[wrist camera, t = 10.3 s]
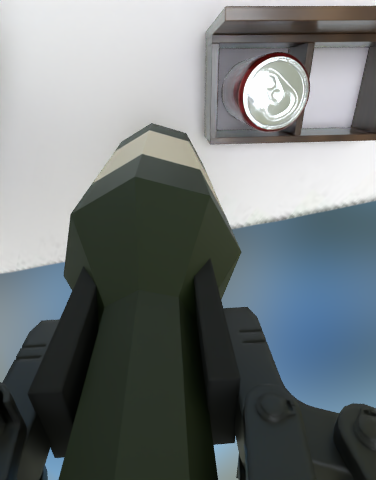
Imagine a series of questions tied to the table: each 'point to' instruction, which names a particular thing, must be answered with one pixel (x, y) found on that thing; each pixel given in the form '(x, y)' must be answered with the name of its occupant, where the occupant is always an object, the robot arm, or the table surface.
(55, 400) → the robot arm
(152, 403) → the wine bottle
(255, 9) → the divided wooden storage box
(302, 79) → the soda can
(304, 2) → the table surface
